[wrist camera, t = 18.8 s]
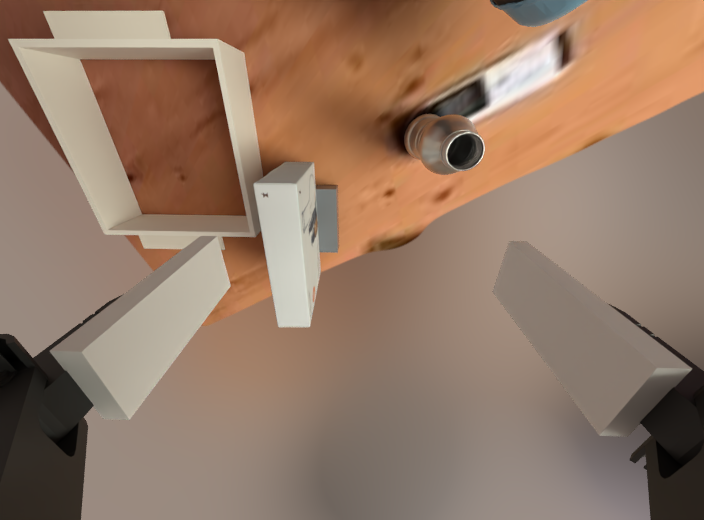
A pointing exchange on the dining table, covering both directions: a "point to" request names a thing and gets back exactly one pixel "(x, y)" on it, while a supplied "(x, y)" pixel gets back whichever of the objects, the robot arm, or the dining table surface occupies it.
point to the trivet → (327, 217)
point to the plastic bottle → (444, 143)
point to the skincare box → (290, 239)
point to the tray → (93, 135)
